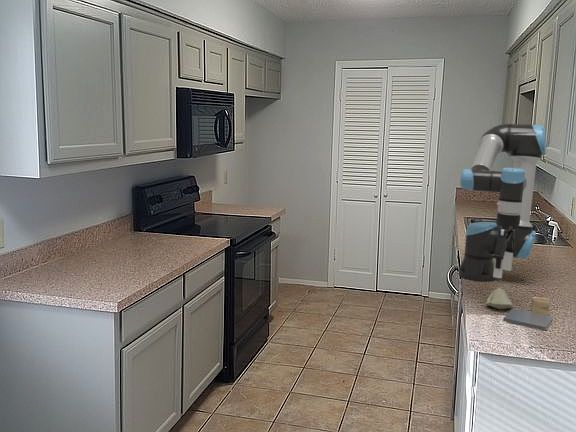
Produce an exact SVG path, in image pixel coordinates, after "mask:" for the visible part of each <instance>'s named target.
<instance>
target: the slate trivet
mask: <svg viewBox="0 0 576 432" xmlns="http://www.w3.org/2000/svg"><path fill="white" fill-rule="evenodd" d="M553 319H554V315H553V316H552V315H549V314H548V315H544V314H539V313H534V312H531V311H528V310H523V309H520V308H519V309H518V308H515V307H514V308H513V307H511V309H510V311H508V312H507V314H505V316H504V317H503V320H502V321H506V322H505V323H508V322H509V324H513V325H517V324H518V325H517V326H522V327H527V328H531V329H537V330H540V331H546V330H548V328H549V326H550V324H551V323H552V322H551V321H553Z"/></svg>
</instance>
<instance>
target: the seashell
mask: <svg viewBox="0 0 576 432" xmlns="http://www.w3.org/2000/svg"><path fill="white" fill-rule="evenodd" d="M510 299H511V298H510V297H509V296H508V294H507V292H506V291H505V290H504V289H503V288H502V287H497V288H496V289H494V290H493V291H491V293H490V295H488V298H487V299H486V303H485V305H486V306H489V307H491V308H492V307H493V308H495V309H498V310H507V309H510V308H511V309H512V308H513V307H514V303H513V302H512V300H510Z"/></svg>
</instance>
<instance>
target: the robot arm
mask: <svg viewBox="0 0 576 432" xmlns="http://www.w3.org/2000/svg"><path fill="white" fill-rule="evenodd" d="M546 136H547V135H546V128H545V126H543V125H539V124H525V123H524V124H522V123H521V124H516V123H502V124H498V125H496V126H493V127H491V128H489V129H488V130H487V131H485V132H484V133H483V135H481V137H480V138H479V142H478V150H477V154H476V155H475V158H474V160H473V162H472V166H471V167H470V168H464V169H463V170H462V171H461V175H460V183H459V184H460V187H461V188H462V189H463V190H468V191H480V192H491V193H499V195H498V202H496V205H497V213H496V222H492V221H479V222H471V223H470V224H468V225H467V229H466V232H465V246H464V253H463V254H464V255H463V258H462V261H461V263H460V266H459V268H458V272H457V273H458V274H457V275H458V276H459V277H461V278H463V279H466V280H471V281H477V282H491V281H495V280H496V279H503V271H509V272H512V267H513V258H516V259H528V258H529V257H530V255H531V254H532V249H533V246H534V243H535V240H536V239H535V238H536V234H537V231H535V230H533V228H534V225H532V223H531V222H530V220H531V212H532V202H533V194H534V188H535V187H534V186H535V178H536V177H535V176H536V169H537V163H538V162H540V161H541V160H542V156H544V155H546V154H547V152H546V151H547V145H546V143H547V139H546ZM500 153H507V154H508V153H509V154H510V159H511V160H512V162H513V164H512V165H513V167H504V168H502V170H501V171H499V170H494V167H495V165H496V161H497V158H498V155H499V154H500ZM498 225H501V226H498Z"/></svg>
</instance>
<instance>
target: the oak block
mask: <svg viewBox="0 0 576 432" xmlns="http://www.w3.org/2000/svg"><path fill="white" fill-rule="evenodd" d="M549 310H550V300H549V298H547V297H539V296H532V299H531V307H530V312H534V313H539V314H544V315H549Z"/></svg>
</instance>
